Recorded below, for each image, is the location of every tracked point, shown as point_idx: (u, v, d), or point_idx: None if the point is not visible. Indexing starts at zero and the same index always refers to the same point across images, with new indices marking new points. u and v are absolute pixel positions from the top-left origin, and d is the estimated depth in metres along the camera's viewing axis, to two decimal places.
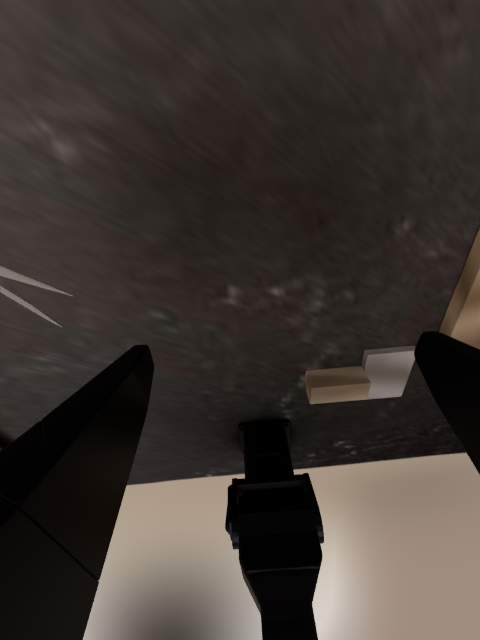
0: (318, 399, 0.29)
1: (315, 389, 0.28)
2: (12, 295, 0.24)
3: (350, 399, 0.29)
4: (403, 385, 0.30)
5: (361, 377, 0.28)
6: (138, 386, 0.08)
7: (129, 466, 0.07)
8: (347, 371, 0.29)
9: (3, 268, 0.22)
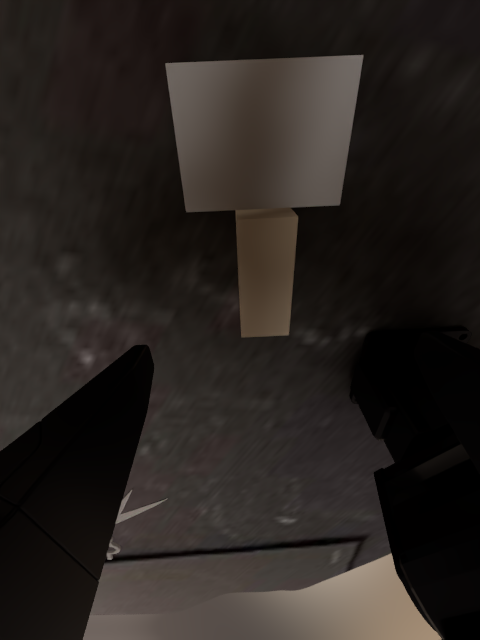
0: (276, 322, 0.14)
1: (246, 330, 0.14)
2: (138, 511, 0.31)
3: (291, 257, 0.12)
4: (310, 64, 0.10)
5: None
6: (138, 386, 0.08)
7: (129, 466, 0.07)
8: None
9: None
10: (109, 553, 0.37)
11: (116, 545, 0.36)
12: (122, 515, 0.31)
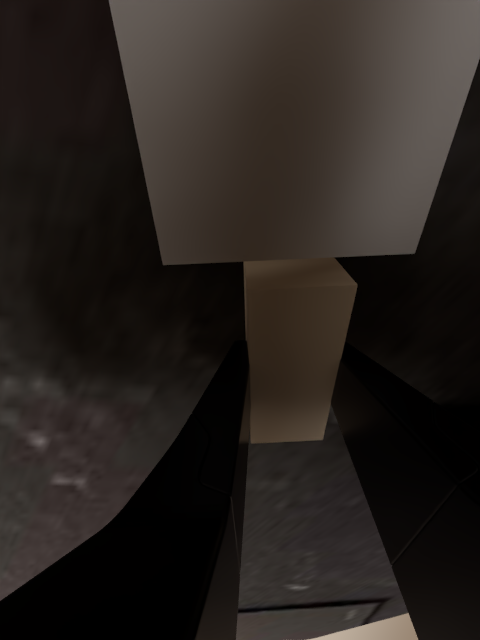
0: (304, 425, 0.09)
1: (258, 435, 0.09)
2: None
3: (338, 344, 0.07)
4: (397, 0, 0.05)
5: (246, 296, 0.07)
6: None
7: None
8: (245, 311, 0.09)
9: None
10: None
11: None
12: None
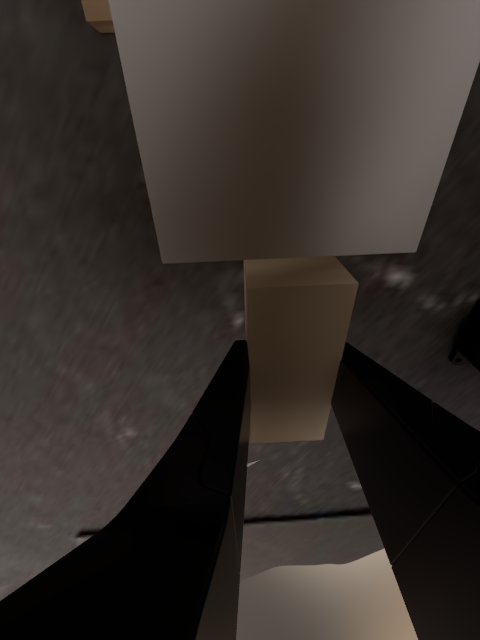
0: (305, 425, 0.09)
1: (259, 434, 0.09)
2: None
3: (338, 343, 0.07)
4: None
5: (246, 295, 0.07)
6: None
7: None
8: (245, 310, 0.09)
9: None
10: None
11: None
12: None
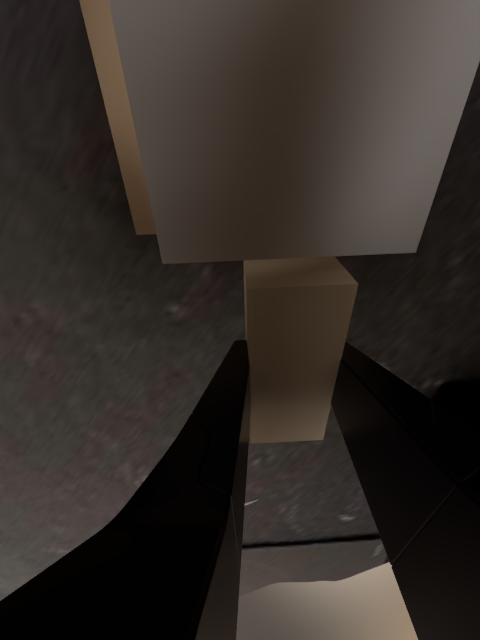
0: (304, 425, 0.09)
1: (259, 434, 0.09)
2: None
3: (338, 343, 0.07)
4: None
5: (246, 295, 0.07)
6: None
7: None
8: (245, 310, 0.09)
9: None
10: None
11: None
12: None
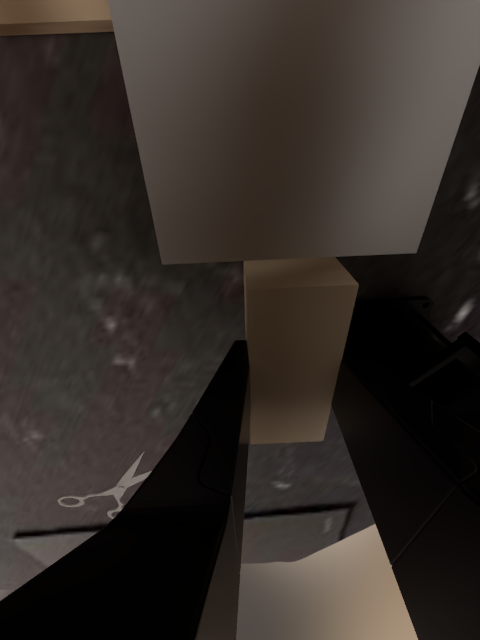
0: (305, 426, 0.09)
1: (259, 435, 0.09)
2: (148, 474, 0.34)
3: (338, 345, 0.07)
4: None
5: (246, 296, 0.07)
6: None
7: None
8: (245, 311, 0.09)
9: (126, 473, 0.34)
10: None
11: None
12: (134, 478, 0.35)
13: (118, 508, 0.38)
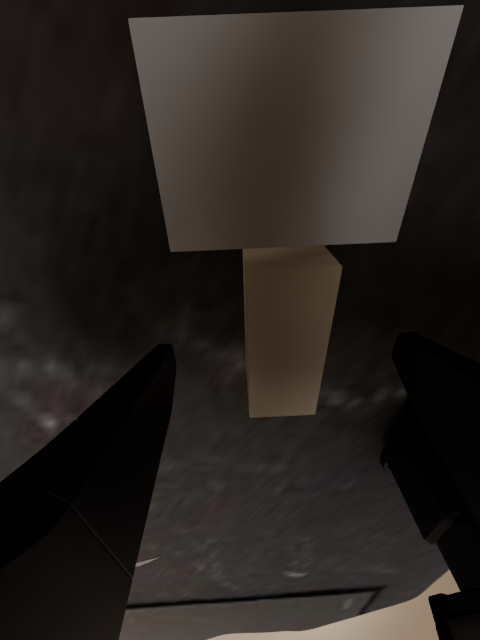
0: (298, 400, 0.10)
1: (256, 409, 0.10)
2: None
3: (326, 322, 0.08)
4: (373, 22, 0.06)
5: None
6: (164, 385, 0.08)
7: (157, 465, 0.07)
8: (244, 295, 0.10)
9: None
10: None
11: None
12: None
13: None
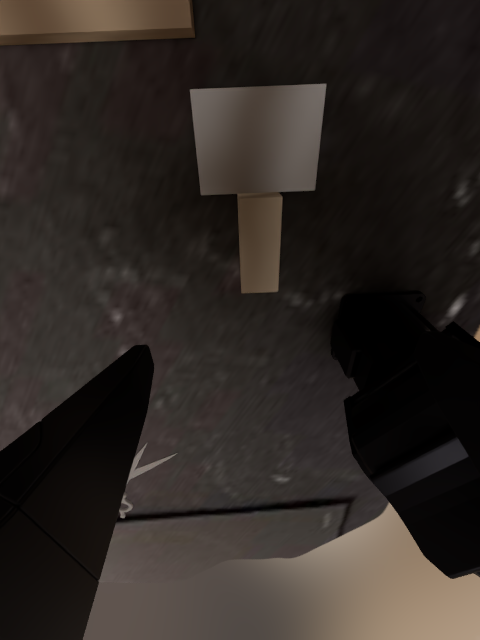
0: (268, 280, 0.18)
1: (245, 286, 0.18)
2: (150, 466, 0.35)
3: (278, 228, 0.16)
4: (289, 90, 0.14)
5: None
6: (138, 386, 0.08)
7: (129, 466, 0.07)
8: (238, 221, 0.18)
9: None
10: (122, 510, 0.41)
11: (129, 502, 0.40)
12: (136, 470, 0.36)
13: None
